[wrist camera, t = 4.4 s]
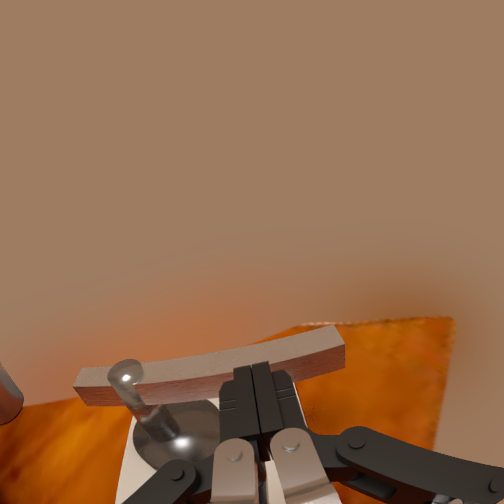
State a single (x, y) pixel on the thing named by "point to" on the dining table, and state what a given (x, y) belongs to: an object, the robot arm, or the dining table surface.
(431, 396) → the dining table surface
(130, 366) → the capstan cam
